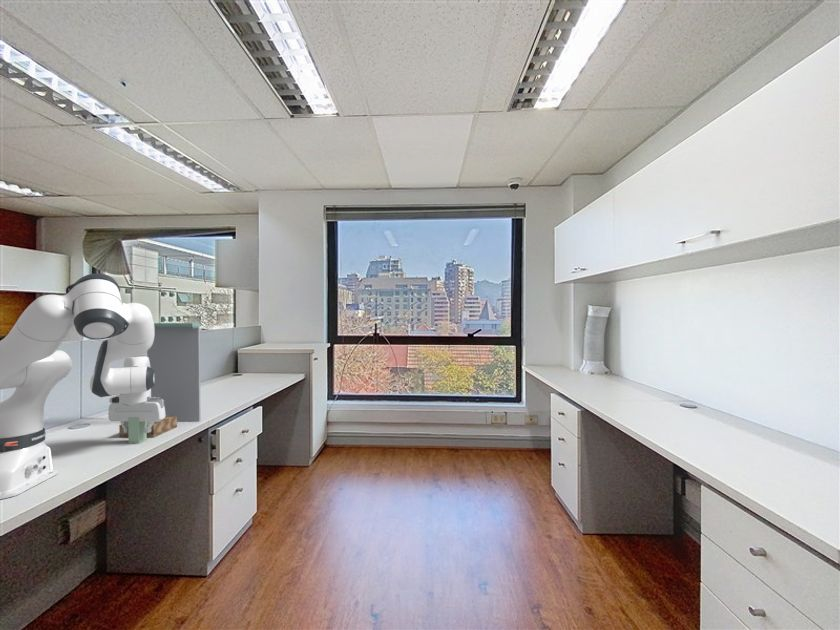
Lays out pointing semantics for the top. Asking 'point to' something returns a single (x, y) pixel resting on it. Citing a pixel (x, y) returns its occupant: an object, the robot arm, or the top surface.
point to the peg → (136, 430)
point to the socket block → (155, 427)
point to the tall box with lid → (177, 369)
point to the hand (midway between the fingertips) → (137, 432)
